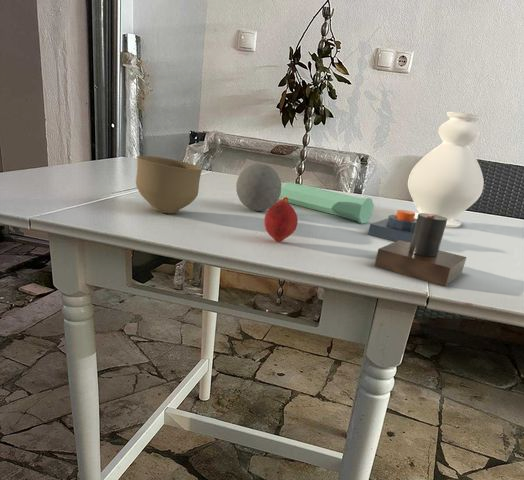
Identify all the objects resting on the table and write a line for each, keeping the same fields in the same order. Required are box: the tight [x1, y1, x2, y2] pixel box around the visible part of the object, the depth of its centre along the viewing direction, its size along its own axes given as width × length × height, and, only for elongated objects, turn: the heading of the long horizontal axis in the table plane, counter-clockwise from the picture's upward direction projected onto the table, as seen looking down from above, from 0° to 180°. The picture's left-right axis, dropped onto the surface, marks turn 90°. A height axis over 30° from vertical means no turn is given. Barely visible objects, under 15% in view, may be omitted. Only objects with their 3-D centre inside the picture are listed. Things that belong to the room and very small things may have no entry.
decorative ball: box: [235, 163, 282, 212], centre depth 112 cm, size 10×10×10 cm
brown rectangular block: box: [374, 240, 467, 287], centre depth 85 cm, size 12×10×3 cm
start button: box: [395, 209, 416, 221], centre depth 105 cm, size 4×4×2 cm
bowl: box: [135, 155, 203, 215], centre depth 100 cm, size 13×13×10 cm
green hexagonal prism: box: [279, 181, 374, 224], centre depth 122 cm, size 6×6×25 cm
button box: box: [367, 214, 417, 243], centre depth 106 cm, size 11×9×4 cm
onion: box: [264, 197, 299, 243], centre depth 89 cm, size 6×6×8 cm
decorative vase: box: [407, 111, 485, 228], centre depth 123 cm, size 18×18×25 cm
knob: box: [409, 213, 447, 257], centre depth 83 cm, size 5×5×6 cm
